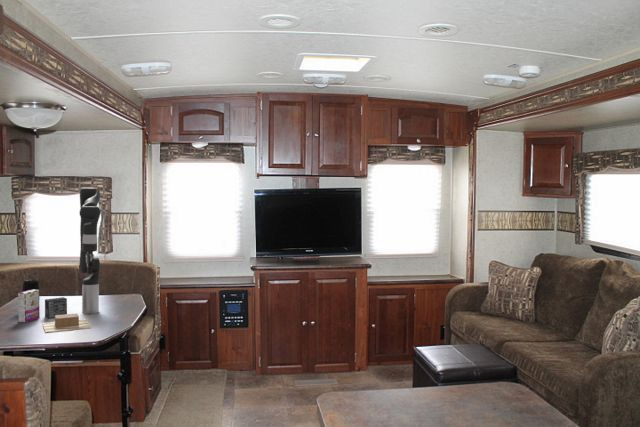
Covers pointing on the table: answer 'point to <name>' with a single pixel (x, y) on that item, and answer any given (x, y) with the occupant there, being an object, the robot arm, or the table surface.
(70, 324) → the walnut block
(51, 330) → the beige cloth mat
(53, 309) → the small box
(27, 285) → the portable speaker
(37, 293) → the candy bar box
